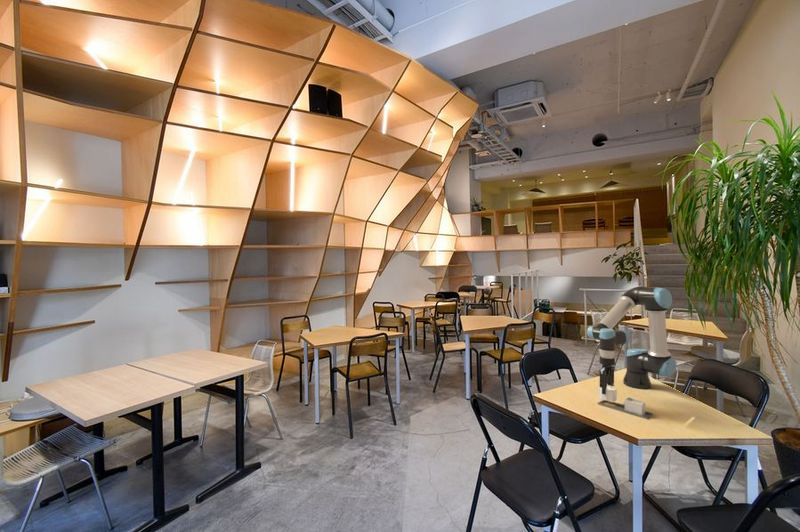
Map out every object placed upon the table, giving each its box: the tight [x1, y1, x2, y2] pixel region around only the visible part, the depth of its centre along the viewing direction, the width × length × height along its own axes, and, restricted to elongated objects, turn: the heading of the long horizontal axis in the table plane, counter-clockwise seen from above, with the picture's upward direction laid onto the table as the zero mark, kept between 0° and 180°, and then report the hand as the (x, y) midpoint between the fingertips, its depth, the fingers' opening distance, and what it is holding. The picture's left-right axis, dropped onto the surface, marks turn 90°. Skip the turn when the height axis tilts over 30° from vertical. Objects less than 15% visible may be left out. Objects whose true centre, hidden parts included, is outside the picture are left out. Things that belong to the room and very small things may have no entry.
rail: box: [597, 399, 654, 420], centre depth 198 cm, size 8×25×2 cm, turn 37°
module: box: [596, 385, 618, 402], centre depth 205 cm, size 5×8×7 cm, turn 38°
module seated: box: [624, 396, 646, 416], centre depth 194 cm, size 5×8×7 cm, turn 37°
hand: (606, 398), depth 205 cm, fingers closed on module, 5 cm apart
